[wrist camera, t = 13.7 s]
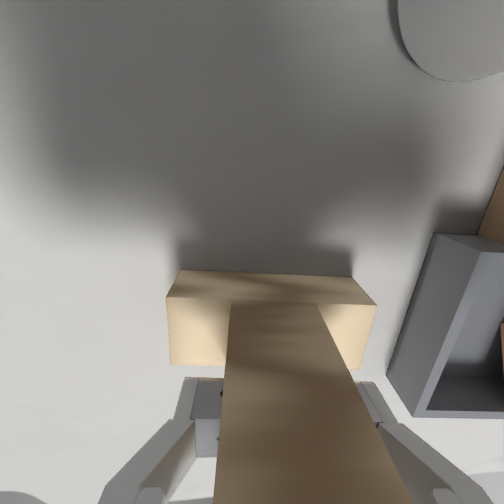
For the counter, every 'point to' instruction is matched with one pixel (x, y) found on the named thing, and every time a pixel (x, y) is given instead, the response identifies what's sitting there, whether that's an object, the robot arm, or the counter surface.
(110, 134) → the counter surface
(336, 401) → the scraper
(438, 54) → the beverage can
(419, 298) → the tray
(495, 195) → the board
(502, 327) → the peach square block
